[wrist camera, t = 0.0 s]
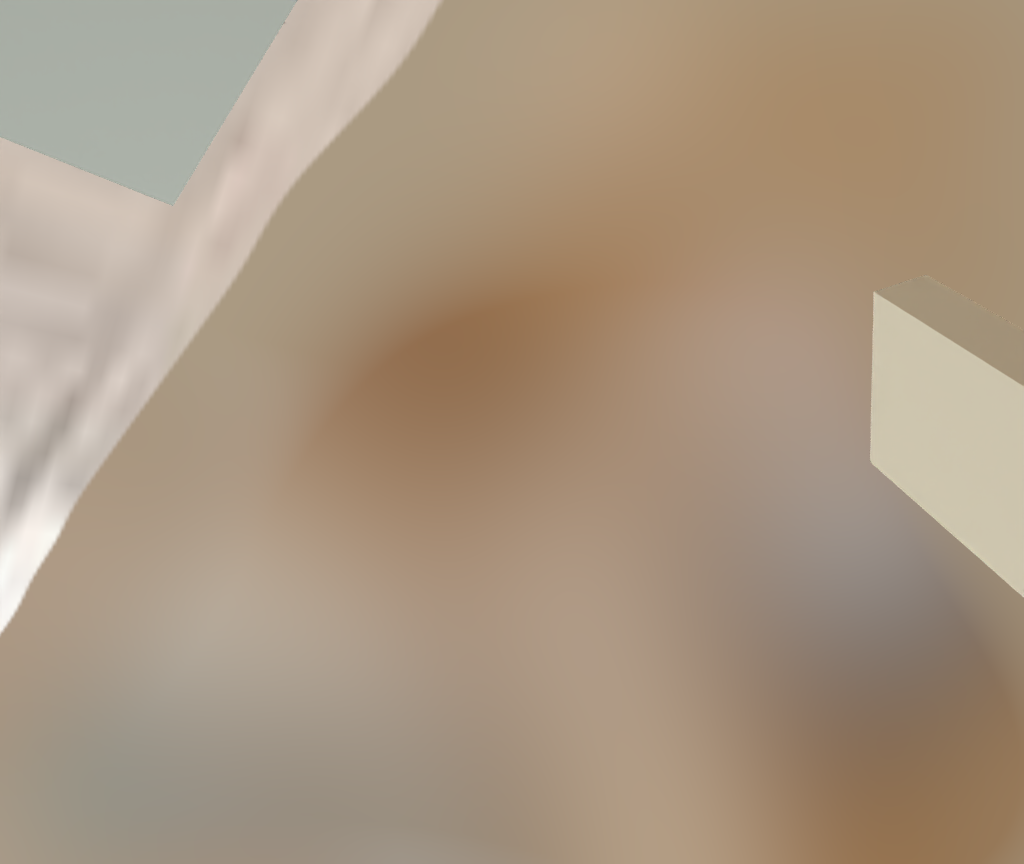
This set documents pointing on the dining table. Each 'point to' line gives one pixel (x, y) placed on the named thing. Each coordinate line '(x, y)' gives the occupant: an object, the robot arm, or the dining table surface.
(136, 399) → the dining table surface
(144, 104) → the slate mat
